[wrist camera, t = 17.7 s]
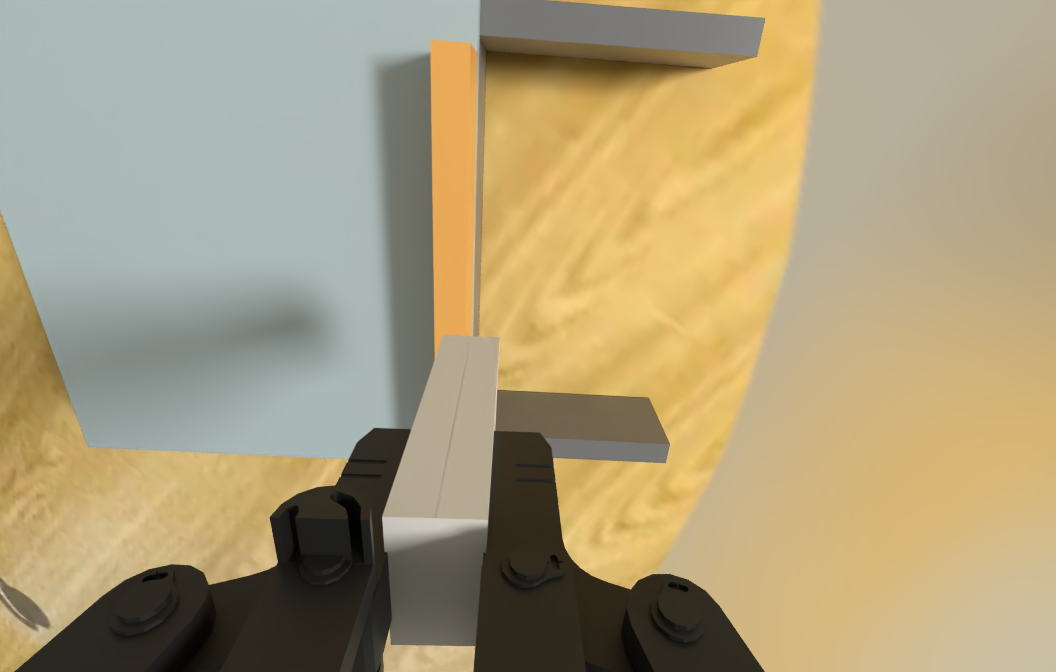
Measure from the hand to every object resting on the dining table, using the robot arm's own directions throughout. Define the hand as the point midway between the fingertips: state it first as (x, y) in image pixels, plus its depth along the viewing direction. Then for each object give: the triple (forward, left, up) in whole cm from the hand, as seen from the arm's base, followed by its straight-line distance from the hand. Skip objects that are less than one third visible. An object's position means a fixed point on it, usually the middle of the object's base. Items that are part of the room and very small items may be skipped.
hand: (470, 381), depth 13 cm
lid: (-10, +1, -9) cm, 13 cm away
